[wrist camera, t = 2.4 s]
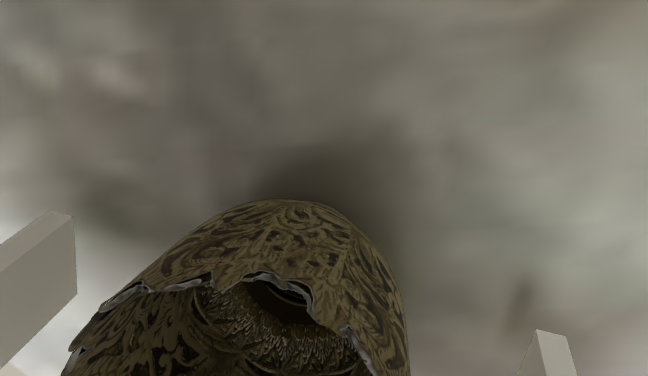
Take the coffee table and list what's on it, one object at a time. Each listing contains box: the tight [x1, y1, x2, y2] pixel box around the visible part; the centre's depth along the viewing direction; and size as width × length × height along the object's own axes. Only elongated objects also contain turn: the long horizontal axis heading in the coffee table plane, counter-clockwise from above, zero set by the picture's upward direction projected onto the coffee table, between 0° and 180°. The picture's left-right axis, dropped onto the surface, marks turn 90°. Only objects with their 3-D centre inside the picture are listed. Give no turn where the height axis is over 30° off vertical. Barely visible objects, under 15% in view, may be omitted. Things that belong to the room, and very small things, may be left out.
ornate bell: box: [61, 199, 411, 376], centre depth 15 cm, size 8×7×8 cm
